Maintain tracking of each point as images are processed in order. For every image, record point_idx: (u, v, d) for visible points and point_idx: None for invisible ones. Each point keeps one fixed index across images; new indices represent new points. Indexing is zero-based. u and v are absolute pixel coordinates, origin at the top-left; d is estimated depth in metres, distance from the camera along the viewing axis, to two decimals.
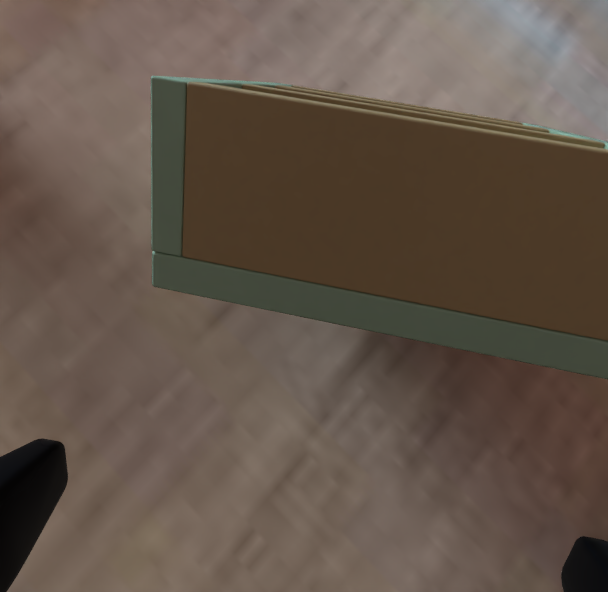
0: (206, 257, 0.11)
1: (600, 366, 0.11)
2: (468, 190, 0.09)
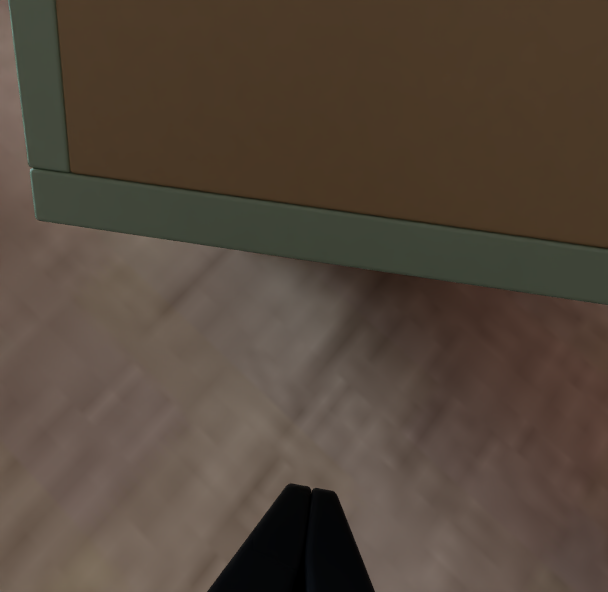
0: (102, 169, 0.08)
1: None
2: (455, 37, 0.07)
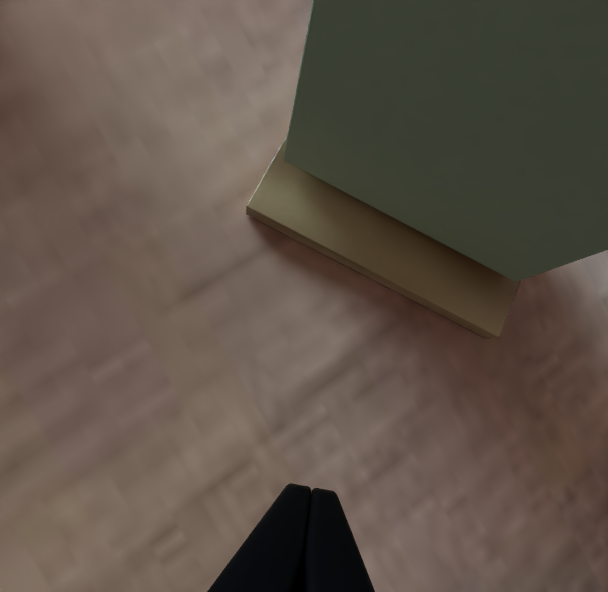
0: None
1: None
2: None
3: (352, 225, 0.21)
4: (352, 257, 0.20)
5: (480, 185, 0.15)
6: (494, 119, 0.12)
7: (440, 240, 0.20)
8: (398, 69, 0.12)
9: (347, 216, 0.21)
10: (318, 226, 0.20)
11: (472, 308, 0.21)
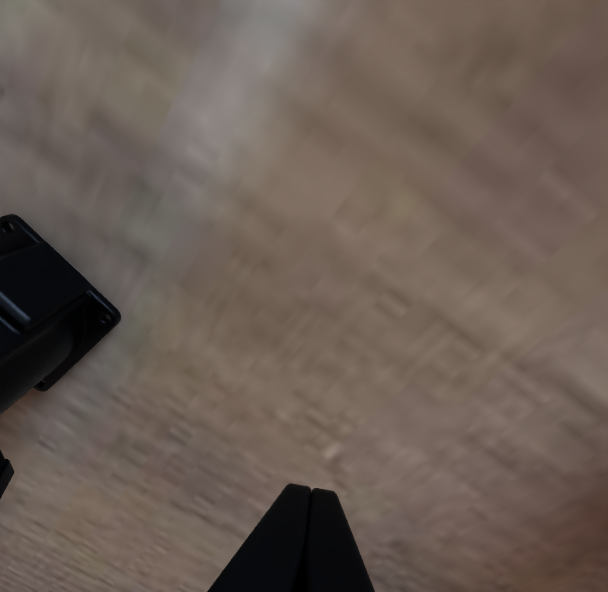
0: None
1: None
2: None
3: None
4: None
5: None
6: None
7: None
8: None
9: None
10: None
11: None
